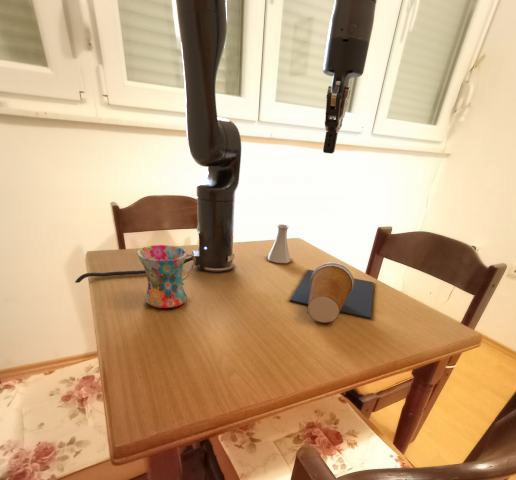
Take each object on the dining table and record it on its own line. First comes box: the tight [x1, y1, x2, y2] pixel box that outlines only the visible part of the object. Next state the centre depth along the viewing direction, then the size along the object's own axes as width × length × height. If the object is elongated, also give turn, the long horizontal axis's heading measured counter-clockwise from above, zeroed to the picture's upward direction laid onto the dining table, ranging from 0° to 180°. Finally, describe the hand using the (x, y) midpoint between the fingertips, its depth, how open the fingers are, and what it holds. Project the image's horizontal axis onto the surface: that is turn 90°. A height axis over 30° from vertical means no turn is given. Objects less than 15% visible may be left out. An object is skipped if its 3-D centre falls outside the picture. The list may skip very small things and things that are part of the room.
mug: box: [136, 244, 196, 309], centre depth 64 cm, size 12×9×11 cm
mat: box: [289, 269, 374, 320], centre depth 78 cm, size 22×18×1 cm
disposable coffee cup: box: [307, 261, 355, 324], centre depth 66 cm, size 10×10×12 cm
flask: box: [267, 224, 292, 264], centre depth 92 cm, size 7×7×10 cm
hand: (328, 152), depth 66 cm, fingers closed
